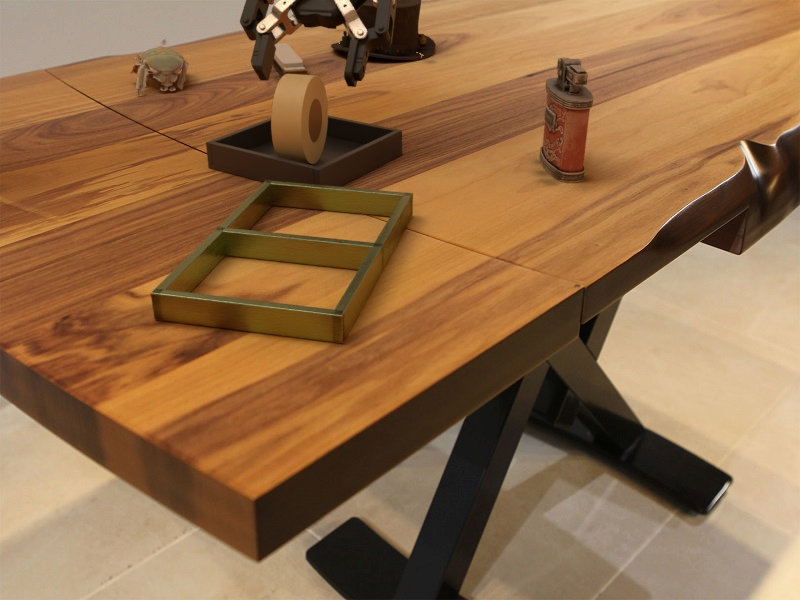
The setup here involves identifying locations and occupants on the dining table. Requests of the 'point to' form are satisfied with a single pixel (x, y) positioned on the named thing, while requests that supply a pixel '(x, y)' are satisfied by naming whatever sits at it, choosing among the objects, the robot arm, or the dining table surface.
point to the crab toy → (160, 68)
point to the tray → (338, 164)
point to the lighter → (566, 122)
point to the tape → (299, 118)
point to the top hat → (395, 32)
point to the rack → (240, 241)
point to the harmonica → (288, 60)
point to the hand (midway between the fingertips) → (305, 79)
